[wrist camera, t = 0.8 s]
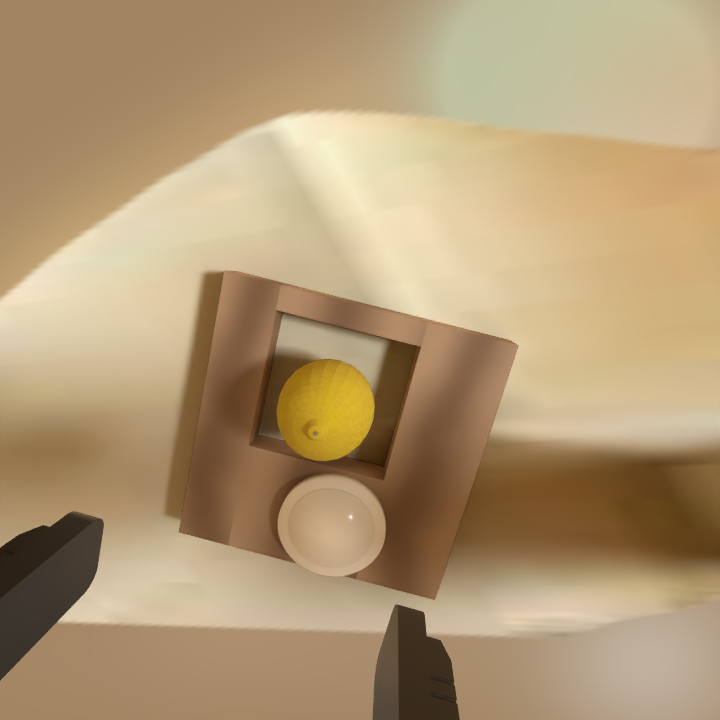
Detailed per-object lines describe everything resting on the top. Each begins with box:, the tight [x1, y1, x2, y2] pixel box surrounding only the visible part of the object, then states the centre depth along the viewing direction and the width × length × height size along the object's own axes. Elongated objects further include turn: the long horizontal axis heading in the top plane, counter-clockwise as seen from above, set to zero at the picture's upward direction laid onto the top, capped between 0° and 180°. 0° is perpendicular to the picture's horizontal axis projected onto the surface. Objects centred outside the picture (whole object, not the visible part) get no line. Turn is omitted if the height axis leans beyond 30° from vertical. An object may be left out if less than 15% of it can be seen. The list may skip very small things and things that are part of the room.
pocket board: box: [179, 271, 519, 600], centre depth 29 cm, size 18×18×2 cm
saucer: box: [278, 472, 386, 577], centre depth 28 cm, size 7×7×1 cm
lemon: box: [277, 359, 375, 461], centre depth 25 cm, size 6×6×8 cm
